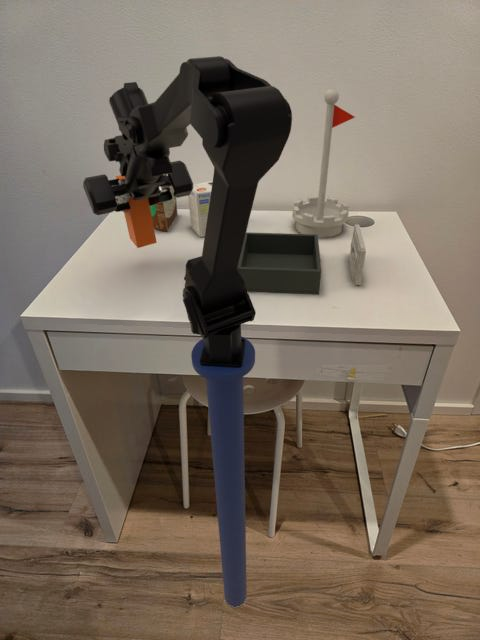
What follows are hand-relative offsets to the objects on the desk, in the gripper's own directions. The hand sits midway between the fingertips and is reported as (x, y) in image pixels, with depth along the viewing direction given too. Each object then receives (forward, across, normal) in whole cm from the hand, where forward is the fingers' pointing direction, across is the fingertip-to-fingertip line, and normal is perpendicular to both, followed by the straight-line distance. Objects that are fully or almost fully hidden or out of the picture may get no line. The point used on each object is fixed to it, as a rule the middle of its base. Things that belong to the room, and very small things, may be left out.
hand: (134, 207), depth 86 cm
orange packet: (+4, 0, +6) cm, 7 cm away
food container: (+20, -11, -3) cm, 23 cm away
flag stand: (+4, -42, +13) cm, 44 cm away
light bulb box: (+14, -21, +4) cm, 25 cm away
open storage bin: (-5, -22, +22) cm, 31 cm away
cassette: (-10, -35, +28) cm, 46 cm away
